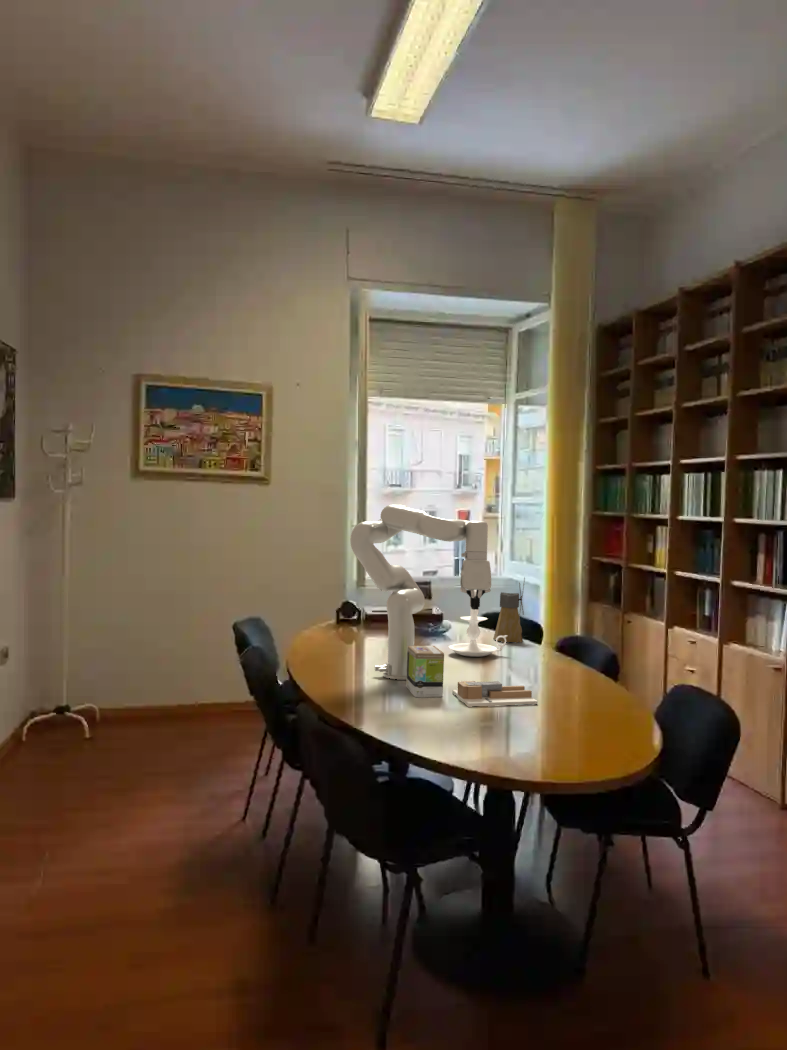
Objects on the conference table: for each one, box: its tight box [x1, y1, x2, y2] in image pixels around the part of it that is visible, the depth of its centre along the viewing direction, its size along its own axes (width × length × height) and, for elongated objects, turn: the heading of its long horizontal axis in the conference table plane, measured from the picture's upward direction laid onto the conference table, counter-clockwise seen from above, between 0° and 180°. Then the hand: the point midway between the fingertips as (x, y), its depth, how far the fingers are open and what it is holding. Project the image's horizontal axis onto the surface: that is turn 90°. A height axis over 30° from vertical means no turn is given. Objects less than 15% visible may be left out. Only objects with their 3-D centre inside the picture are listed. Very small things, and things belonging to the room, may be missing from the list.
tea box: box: [406, 645, 445, 698], centre depth 272 cm, size 15×10×15 cm, turn 9°
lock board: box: [452, 680, 538, 708], centre depth 265 cm, size 23×18×5 cm
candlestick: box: [447, 590, 507, 658], centre depth 338 cm, size 21×25×28 cm
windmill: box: [492, 576, 526, 644], centre depth 376 cm, size 21×14×30 cm, turn 164°
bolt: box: [463, 680, 503, 697], centre depth 264 cm, size 12×4×4 cm, turn 102°
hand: (474, 609), depth 281 cm, fingers closed
